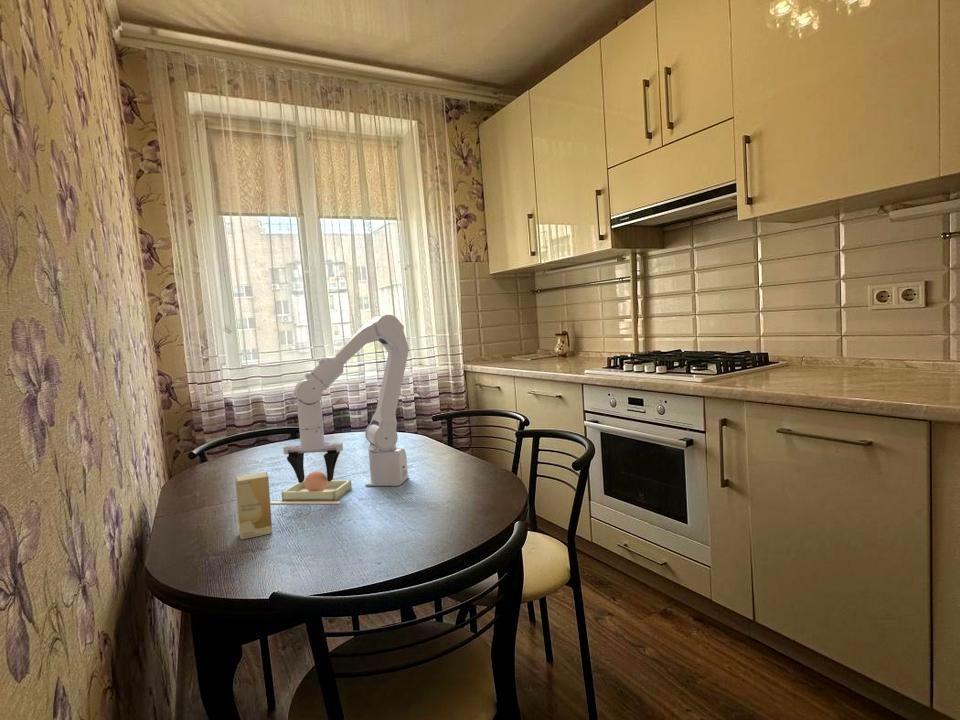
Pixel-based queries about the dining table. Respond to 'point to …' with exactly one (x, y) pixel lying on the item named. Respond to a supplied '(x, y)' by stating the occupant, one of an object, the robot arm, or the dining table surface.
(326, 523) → the dining table surface
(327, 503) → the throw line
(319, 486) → the ball
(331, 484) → the tray
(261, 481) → the skincare box
